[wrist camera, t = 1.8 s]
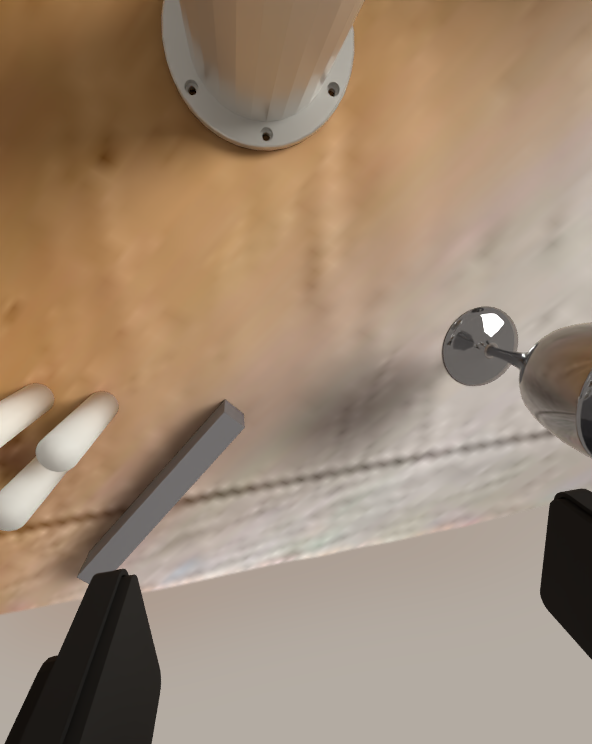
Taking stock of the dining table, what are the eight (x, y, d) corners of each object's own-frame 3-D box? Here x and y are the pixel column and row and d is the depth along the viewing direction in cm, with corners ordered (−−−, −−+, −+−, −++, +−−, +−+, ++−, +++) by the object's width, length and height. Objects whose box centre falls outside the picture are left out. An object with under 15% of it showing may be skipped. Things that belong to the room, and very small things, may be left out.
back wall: (109, 563, 35) (98, 589, 33) (89, 551, 35) (76, 577, 32) (243, 413, 34) (244, 427, 31) (225, 399, 33) (224, 412, 30)
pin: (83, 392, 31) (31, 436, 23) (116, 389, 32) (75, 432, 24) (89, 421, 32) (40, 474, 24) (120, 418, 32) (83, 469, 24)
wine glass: (426, 381, 36) (557, 459, 21) (455, 292, 34) (617, 311, 20) (504, 397, 37) (674, 479, 23) (534, 312, 35) (739, 344, 21)
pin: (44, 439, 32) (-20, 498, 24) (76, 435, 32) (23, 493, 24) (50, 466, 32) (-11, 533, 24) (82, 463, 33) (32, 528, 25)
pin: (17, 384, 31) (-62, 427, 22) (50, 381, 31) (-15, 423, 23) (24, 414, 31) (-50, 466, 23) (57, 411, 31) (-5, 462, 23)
